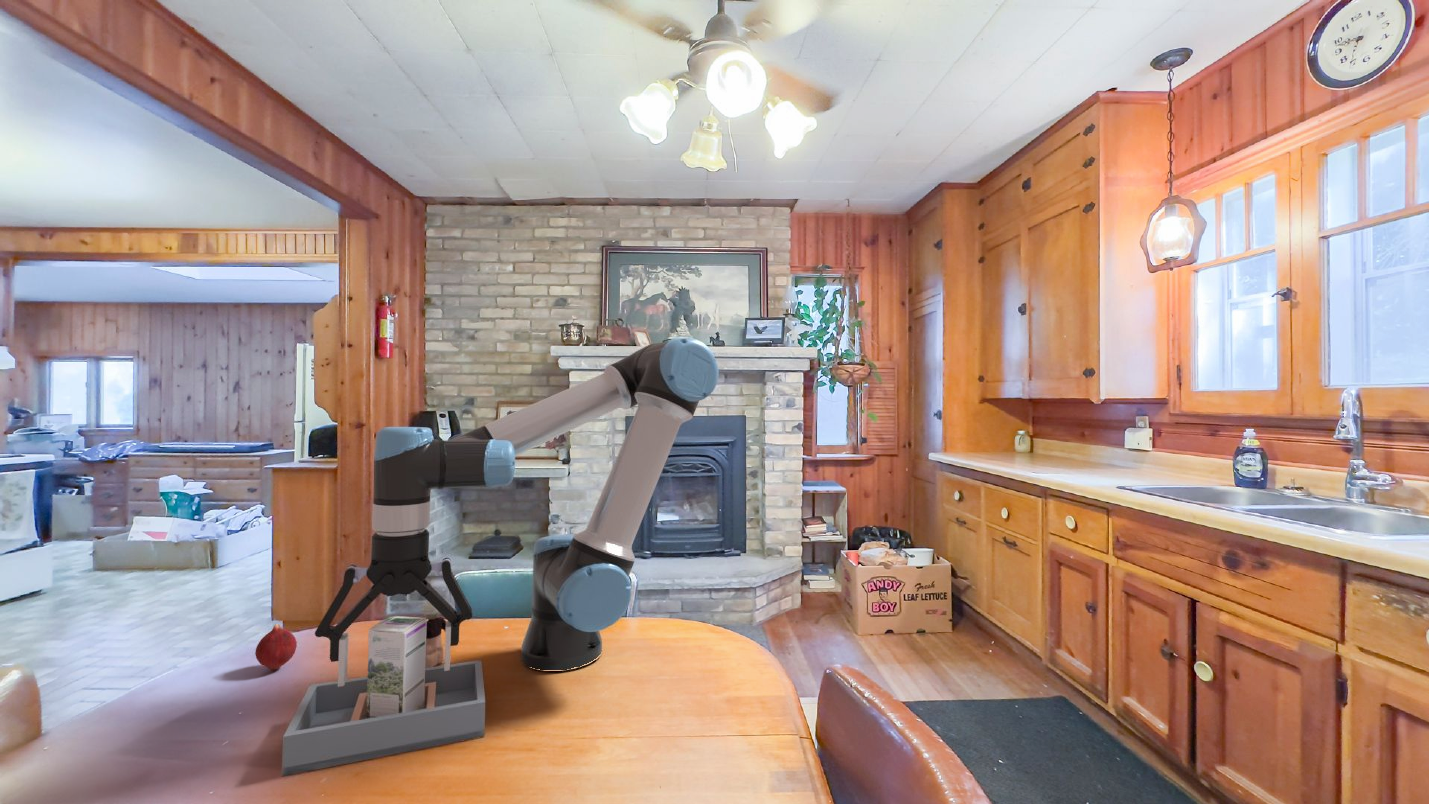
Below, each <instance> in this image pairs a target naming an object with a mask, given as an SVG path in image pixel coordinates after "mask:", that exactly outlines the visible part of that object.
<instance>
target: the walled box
mask: <svg viewBox="0 0 1429 804" xmlns="http://www.w3.org/2000/svg"><path fill="white" fill-rule="evenodd" d="M482 664H483V663H482V660H480V659H479V660H473V661H472V660H471V661H466V662H465V661H464V662H457V663H450V670H448V671H444V665H443V666H436V667H430V668H425V707H424V709H421V710H416V711H410V712H404V713H398V714H392V715H386V716H380V717H375V718H369V719H366V717H367V680H368V675H367V676H362V677H355V678H347V679H346V682H345V684H344V686H340V687H338V680H334V681H327V682H321V683H320V682H319V683H313V684H310V685H309V686H308V688H307V690H306V692H305V694H304V696H303V698H302V700H301V701H300V703H299V705H298V707H297V709H296V712H295V713H294V715H293V717H292V720H290V723H289V725H288V727H287V728H286V731H285V732H284V734H283V736H282V760H281V761H282V762H281V777H284V776H292V775H295V774H301V773H305V772H307V773H308V772H310V771H311V772H312V771H316V770H320V769H321V770H322V769H326V768H332V767H337V766H341V765H345V764H346V765H347V764H348V765H349V764H352V763H358V762H362V761H367V760H372V759H378V758H384V757H388V756H393V755H398V754H404V753H409V752H413V751H419V750H424V749H428V748H434V747H437V746H438V747H440V746H444V745H443V744H445V745H449V744H448V743H450V744H453V743H460V742H463V741H462V740H465V741H469V739H470V740H474V738H475V739H479V738H478V737H480V738H484V737H485V723H486V695H485V687H484V686H485V685H484V684H485V683H484V675H483V665H482ZM458 741H459V742H458Z"/></svg>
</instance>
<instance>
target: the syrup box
mask: <svg viewBox="0 0 1429 804" xmlns="http://www.w3.org/2000/svg"><path fill="white" fill-rule="evenodd" d="M427 621H428V619H427V618H426V617H418V616H416V617H414V616H398V615H392V616H389V617H386V618H384V619H383V620H380V621H379V622H378V623H376V624H374V625H373V626H371V627H370V628H368V643H367V645H368V646H367V647H368V649H367V676H368V680H367V717H366V719H369V718H375V717H380V716H386V715H392V714H398V713H404V712H410V711H416V710H421V709H424V707H425V657H426V631H427Z"/></svg>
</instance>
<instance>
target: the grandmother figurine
mask: <svg viewBox="0 0 1429 804" xmlns="http://www.w3.org/2000/svg"><path fill="white" fill-rule="evenodd" d="M422 613H423V615H424V618H426V619H427V631H426V657H425V668H430V667H436V666H443V665H444V647H443V645H444V644H443V638H442V630H443V631H444V632H445V631H446V621H447V620H446V619H444V617H439V616H440V614H441V613H440V612H439V611H438V610H437V609H436V608H435V607H434V606H433V605H432V604H431V603H430V602H429V601H428V600H426V602H424V603H423V605H422Z"/></svg>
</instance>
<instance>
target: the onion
mask: <svg viewBox="0 0 1429 804" xmlns="http://www.w3.org/2000/svg"><path fill="white" fill-rule="evenodd" d="M272 627H273V628H272V630H271V631H269V632H268V633H267V634H265V635H264V636H263V637H262V638H261V639H260V641H259V642H258V643H257V645H256V648H255V655H254V656H255V658H256V660H257V661H258V663H259V664H260V665H261V666H263V667H265V668H268V670H269V669H270V670H272V671H277V670H279V669H280V668H281V667H283V666H284V665H285V664H287V663H288V662H289V661H290V660H291V659H292V658H293V657H294V655H295V653H296V650H297V643H298V642H297V640H296V637H295V635H294V634H293V633H292V632H291V631H289V630H288V629H285V628H283V627H282V626H281V624H279V623H275V624H274V625H273V626H272Z"/></svg>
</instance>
